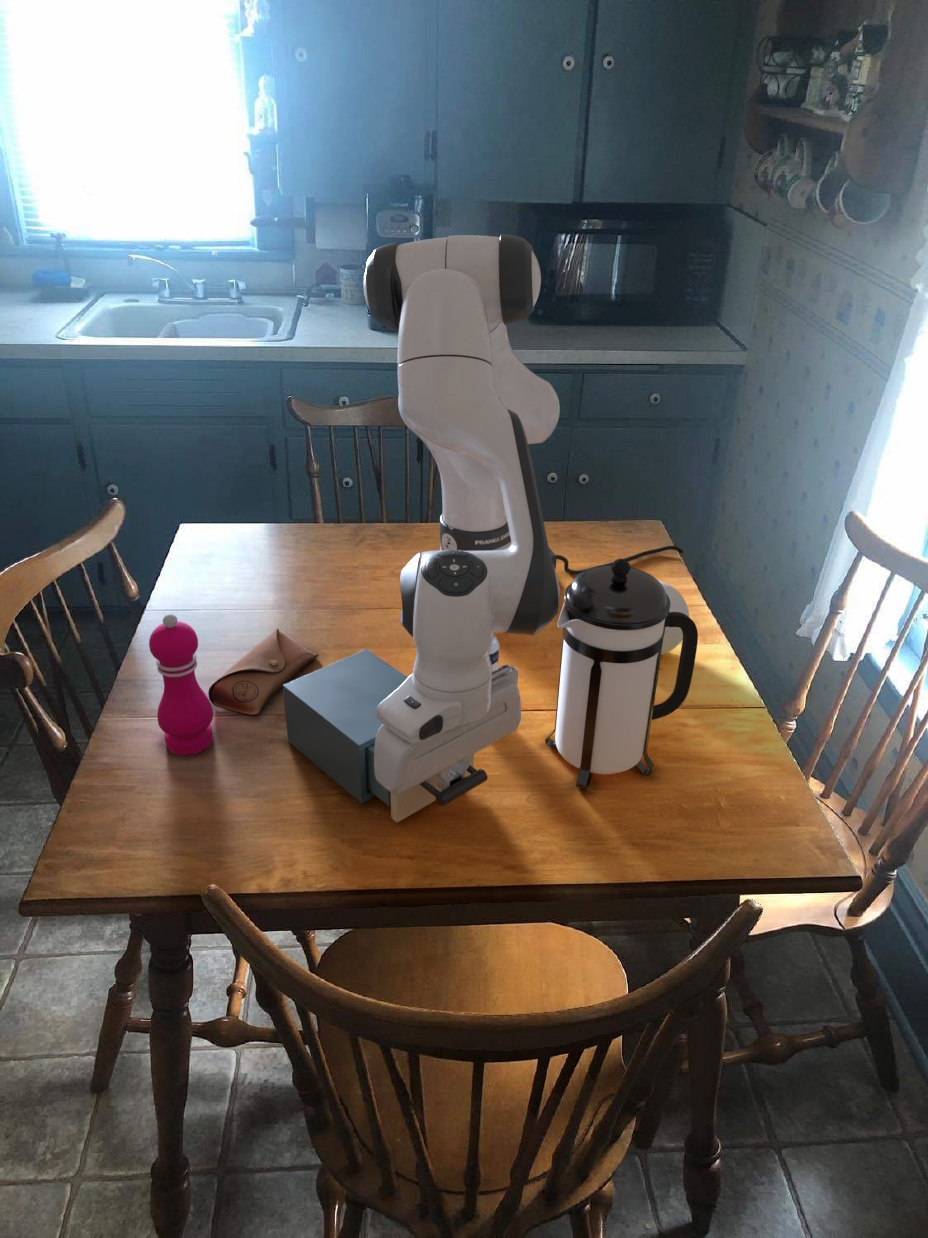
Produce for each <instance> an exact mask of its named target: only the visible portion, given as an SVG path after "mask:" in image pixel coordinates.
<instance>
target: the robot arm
mask: <svg viewBox="0 0 928 1238" xmlns="http://www.w3.org/2000/svg"><path fill="white" fill-rule="evenodd" d="M541 273H542V272H541V267H540V264H539V260H538V258H537V256H536V254H535V251H534V249H533V246H532V244H530V243H529V242H528V241H527V240H526V239H525V238H524V237H520V236H517V235H512V234H503V233H501V234H500V236H491V235H478V234H477V235H476V234H474V235H473V234H471V235H469V234H462V235H461V234H460V235H459V234H457V235H448V237H447V236H446V237H445V236H444V237H436V238H435V237H434V238H427V239H422V240H416V241H410V242H405V243H400V242H398V241H395V242H392V243H388V244H384V245H382V246H379V247H377V248H375V249H374V250H373V252H372V253H371V254H370V256H369V257H368V259H367V261H366V266H365V272H364V276H363V294H364V298H365V302H366V306H367V307H368V310H369V313H370V315H371V318H372V320H373V321H375V322H376V324H378V325H379V326H380V327H382V328H383V329H386V330H390V331H393V332H395V333H398V335H397V336H398V337H397V340H398V341H397V386H398V387H397V388H398V399H397V402H398V403H397V405H398V412H399V414H400V417H401V420H402V421H403V423H404V425H405V426H406V427H407V428H408V429H409V430H410V431H411V432H413V433H414V434H415V435H416V436H417V437H418V438H419V439H420V440H421V442H423V443H424V445H425V446H426V448H427V449H428V450H429V452H430V453H431V455H432V457H433V459H434V461H435V463H436V466H437V469H438V472H439V476H440V485H441V498H442V499H441V501H442V504H441V505H442V514H441V515H440V517H439V540H440V541H439V542H440V548H439V549H438V550H426V551H422V552H421V551H420V552H418V553H417V554H416V555H414V556H413V557H412V558H411V559H410V560H409V561H408V562H407V564H406V565H405V566H404V567H403V568H402V569H401V571H400V575H399V589H400V597H401V610H400V619H399V620H400V624H401V626H402V627H403V628H404V629H405V631H406V632H407V633H408V634H409V635H410V637H412V639H413V640H412V641H413V643H414V645H415V649H416V656H415V660H414V663H413V666H412V667H413V668H412V673H411V674H410V675H409V676H407V677H408V678H407V679H406V680H405V682H404V683H403V684H402V685H401V686H400V687H399V688H398V689H396V690H395V691H394V692H393V693H392V694H391V695H390V696H388V697H387V698H386V699H385V700H383V701H382V702H381V703H380V704H379V705H378V707H377V711H376V713H377V718H378V719H379V720H380V721H381V722H382V723H383V724H382V725H381V727H380V728H379V730H378V732H377V735H376V739H375V748H374V772H375V777H376V779H377V781H378V782H379V783H380V784H381V785H382V786H383V787H384V788H386V789H387V790H388V791H390V792H392V793H393V794H395V795H400V794H402V793H404V792H406V791H407V790H409V789H411V788H413V787H415V786H417V785H418V784H420V783H422V782H424V781H426V780H427V779H429V778H431V777H433V776H435V775H436V776H437V786H438V788H439V789H440V790H441V791H443V790H444V789H446V788H448V787H450V786H451V785H453V784H455V783H457V782H458V781H460V780H462V779H463V778H465V772H466V771H467V769H468V767H469V765H470V763H471V761H472V759H473V754H474V755H475V754H476V753H479V752H480V751H482V750H484V749H485V748H488V747H489V746H491V745H492V744H495V743H496V742H498V741H500V740H501V739H503V738H505V737H507V736H509V735H511V734H513V733H514V732H516V731H517V730H518V728H519V726H520V724H521V722H522V699H521V692H520V688H519V686H518V684H519V671H518V669H517V668H516V666H514V665H509V664H503V665H500V666H498V669H496V670H493V671H492V664H491V660H490V657H489V652H490V648H491V646H492V643H493V637H494V636H495V635H494V633H504V634H511V635H525V636H534V635H536V634H537V633H539V632H541V631H542V630H543V629H544V628H545V627H547V626H548V625H549V624H550V623H551V622H552V621H553V620H554V618H556V617H557V615H558V613H559V606H560V601H561V588H560V582H559V577H558V574H557V571H556V570H557V560H559V561H561V562H563V565H564V567H563V569H564V571H565V572H566V573H567V574H570V575H579V574H580V573H581V572H583V571H585V570H587V569H590V568H593V567H597V566H603V565H612V564H613V562H614V561H611V562H608V563H604V564H599V565H595V566H591V567H588V568H584V569H579V570H575V569H574V570H573V569H571V568H569V560H568V559H567V558H566V557H565V556H564V555H560V554H556V553H555V552H554V551H553V550H552V549H551V548H550V545H549V541H548V538H547V532H546V526H545V522H544V521H545V520H544V517H543V512H542V507H541V501H540V496H539V490H538V485H537V481H536V480H537V479H536V474H535V470H534V464H533V460H532V455H531V452H530V446H529V445H535V444H543V443H544V442H545V441H546V440H547V439H549V438H550V437H551V436H552V434H553V432H554V431H555V430H556V427H557V425H558V423H559V419H560V413H561V406H560V400H559V397H558V394H557V392H556V390H555V388H554V387H553V385H552V384H551V383H550V382H549V381H547V380H545V379H544V378H542V377H540V376H539V375H537V374H536V373H534V372H533V371H532V370H531V369H529V368H528V367H527V366H526V365H525V364H524V363H523V361H521V359H520V358H519V357H518V355H517V354H516V353H515V351H514V350H513V348H512V346H511V343H510V339H509V334H508V329H507V325H512V324H516V323H519V322H522V321H525V320H527V319H528V318H529V316H530V315H531V314H532V313H533V312H534V311H535V305H536V303H537V301H538V298H539V296H540V291H541V285H542V274H541ZM666 551H676V552H678V553H679V554H683V553H684V550H683V549H682V548H680V547H679V546H676V545H665V546H661V547H657V548H654V549H647V550H645V551H641V552H638V553H635V554H634V555H631V556H627V557H623V559H625V560H626V561H628V562H631V561H634V560H637V559H640V558H643V557H645V556H648V555H653V554H657V553H662V552H666ZM450 767H451V768H450Z"/></svg>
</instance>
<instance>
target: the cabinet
mask: <svg viewBox="0 0 928 1238" xmlns="http://www.w3.org/2000/svg"><path fill="white" fill-rule="evenodd" d="M408 677H409V676H407V675H406V674H404V673H403V672H401V671H400V670H398V669H397V668H395V667H394V666H393V665H391V664H390V663H388V662H386V661H385V660H383V659H382V658H381V657H379V656H378V655H376V654H375V653H373V652H372V651H370V650H369V649H368V648H364V649H363V650H360V651H358V652H356V653H354V654H351V655H349V656H347V657H344V658H342V659H340V660H339V659H338V660H337V661H335V662H333V663H330V664H328V665H326V666H324V667H321V668H318V669H316V670H314V671H312V672H310V673H308V674H305V675H303V676H300V677H298V678H296V679H292V680H290V681H289V682H288V683H287V684H284V685H283V688H282V694H283V704H284V715H285V725H286V735H287V737H286V738H287V742H288V743H290V744H291V745H292V746H293V747H294V748H295V749H297V751H299V752H300V753H301V754H302V755H303V756H305V757H306V759H308V760H310V761H311V762H312V763H313V764H314V765H315V766H317V768H319V769H320V770H321V771H322V772H323V773H324V774H326V775H327V776H328V777H329V778H331V779H332V780H333V781H334V782H336V783H337V784H338V785H339V786H340V787H341V788H343V790H345V791H346V792H347V793H348V794H349V795H350V796H352V797H353V798H354V799H355V800H356V801H358V803H360V804H362V805H363V804H364V803H366V802H368V801H369V800H371V799H373V798H375V797H377V796H376V795H374V794H373V793H372V792H371V791H370V790H368V789H367V785H366V762H365V748H366V747H368V746H370V745H372V744H374V743H375V739H376V735H377V732H378V730H379V728H380V727H381V725H382V724H383V723H382V722H381V721H380V720H379V719H378V718H377V713H376V711H377V707H378V705H379V704H380V703H381V702H382V701H383V700H385V699H386V698H387V697H388V696H390V695H391V694H392V693H393V692H394V691H395V690H396V689H398V688H399V687H400V686H401V685H402V684H403V683H404V682H405V680H406V679H407V678H408Z"/></svg>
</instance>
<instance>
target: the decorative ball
mask: <svg viewBox="0 0 928 1238" xmlns="http://www.w3.org/2000/svg"><path fill="white" fill-rule="evenodd" d="M658 581H659V582H660V583H661V584H662V586H663V587H664V589H665V592H666V594H667V595H668V597H669V599H670V611H669V612H680V613H684V614H685V615H687V616H688V617H689V618H690V612H689V607H688V604H687V602H686V600H685V599H684V596H683V595H682V594H681V593H680V592H679V591H678V589H676V588H675V587H674V586H672V585H670V584H668V583H667V582H664V581H661V580H658ZM682 640H683V633H682V630H681V628H679V627H665V635H664V641H663V647H662V655H661V656H663V655H664V654H667V653H670V652H671V651H673V650H675V648H677V647H678V646H679V645H680V644H681V643H682Z"/></svg>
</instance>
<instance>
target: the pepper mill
mask: <svg viewBox="0 0 928 1238" xmlns="http://www.w3.org/2000/svg"><path fill="white" fill-rule="evenodd" d="M148 647H149V651H150V653H151V655H152V657H153V658H154V659H156V662H155V664H156V669H157V672H158V673H159V674H160V675H162V679H163V693H162V695H161V698H160V701H159V704H158V707H157V712H156V713H157V714H156V715H157V717H156V718H157V723H158V724H157V725H158V727H159V728H160V730H161V731H162V732H163V733H164V735H163V736H164V741H165V747H166V748H167V750H168V751H169V752H171V753H172V754H175V755H180V756H190V755H191V756H192V755H195V754H199V753H201V752H203V751H205V750H207V748H209V747H210V746H211V744H212V743H213V740H214V734H213V727H212V722H213V720H214V714H215V713H214V709H213V704H212V702H211V701H210V699H209V696H208V694H206V692H205V691H204V690H203V688H202V687H201V686H200V684H199V682H198V680H197V677H196V672H195V670H196V669H197V667H198V660H197V659H198V657H197V654H196V652H197V651H198V647H199V639H198V635H197V633H196V631H195V630H194V628H193V627H192V626H191V625H189V624H188V623H186V622H183V621H179V620H178V617H177V616H176V615H175V614H172V613H167V614H165V615H164V616H163V618H162V623H161V624H159V625H157V626H156V627H155V628H154V629H153V631H152V632H151V633H150V636H149V640H148Z"/></svg>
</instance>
